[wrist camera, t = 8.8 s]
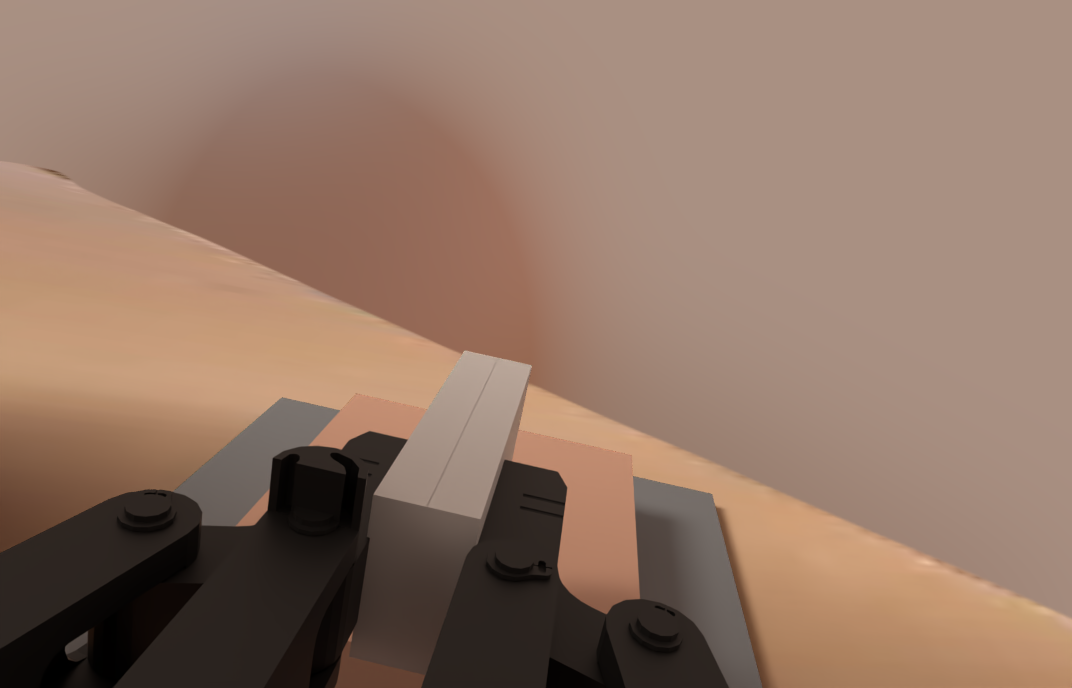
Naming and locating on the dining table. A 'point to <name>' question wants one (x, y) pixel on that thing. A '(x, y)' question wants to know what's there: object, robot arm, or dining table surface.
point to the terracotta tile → (587, 533)
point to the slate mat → (660, 513)
